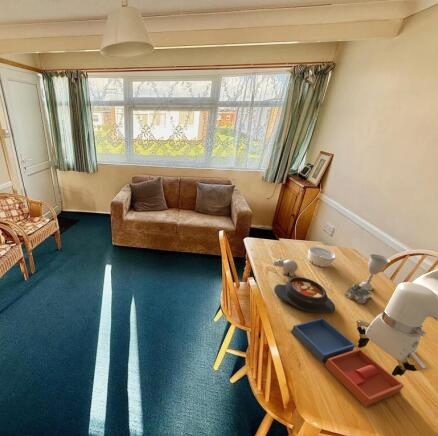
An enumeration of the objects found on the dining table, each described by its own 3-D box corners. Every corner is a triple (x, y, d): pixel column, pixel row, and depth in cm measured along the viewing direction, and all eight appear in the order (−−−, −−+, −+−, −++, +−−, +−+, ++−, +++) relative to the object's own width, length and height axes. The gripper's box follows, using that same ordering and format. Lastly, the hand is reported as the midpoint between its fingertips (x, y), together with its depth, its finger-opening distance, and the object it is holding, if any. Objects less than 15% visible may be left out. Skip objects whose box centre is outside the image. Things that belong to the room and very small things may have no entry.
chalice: (359, 289, 118) (374, 260, 111) (354, 281, 124) (367, 253, 116) (377, 292, 116) (393, 263, 108) (371, 284, 121) (385, 256, 114)
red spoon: (365, 367, 81) (368, 361, 79) (378, 378, 77) (382, 372, 76) (341, 375, 78) (344, 370, 77) (354, 387, 74) (357, 382, 73)
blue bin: (352, 351, 87) (355, 345, 85) (321, 361, 83) (324, 355, 81) (319, 323, 98) (322, 317, 97) (291, 331, 94) (293, 325, 93)
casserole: (274, 305, 107) (279, 292, 104) (272, 281, 123) (276, 269, 119) (339, 323, 98) (346, 309, 95) (327, 295, 114) (333, 282, 110)
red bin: (399, 392, 74) (404, 385, 72) (365, 406, 70) (369, 399, 69) (355, 354, 85) (359, 348, 84) (324, 365, 82) (327, 358, 80)
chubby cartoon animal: (273, 264, 137) (276, 252, 134) (296, 272, 130) (300, 260, 127) (270, 270, 132) (273, 258, 129) (294, 278, 125) (298, 266, 122)
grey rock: (362, 305, 108) (365, 299, 106) (343, 295, 114) (346, 289, 112) (371, 297, 113) (374, 290, 111) (353, 288, 119) (356, 282, 117)
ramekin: (309, 253, 148) (312, 244, 146) (334, 262, 140) (338, 252, 137) (303, 261, 140) (306, 252, 137) (328, 271, 131) (332, 261, 129)
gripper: (450, 343, 61) (420, 383, 68) (375, 298, 76) (357, 334, 83) (431, 350, 59) (403, 390, 66) (358, 303, 74) (342, 339, 81)
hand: (377, 359), depth 74 cm, fingers open, 9 cm apart
